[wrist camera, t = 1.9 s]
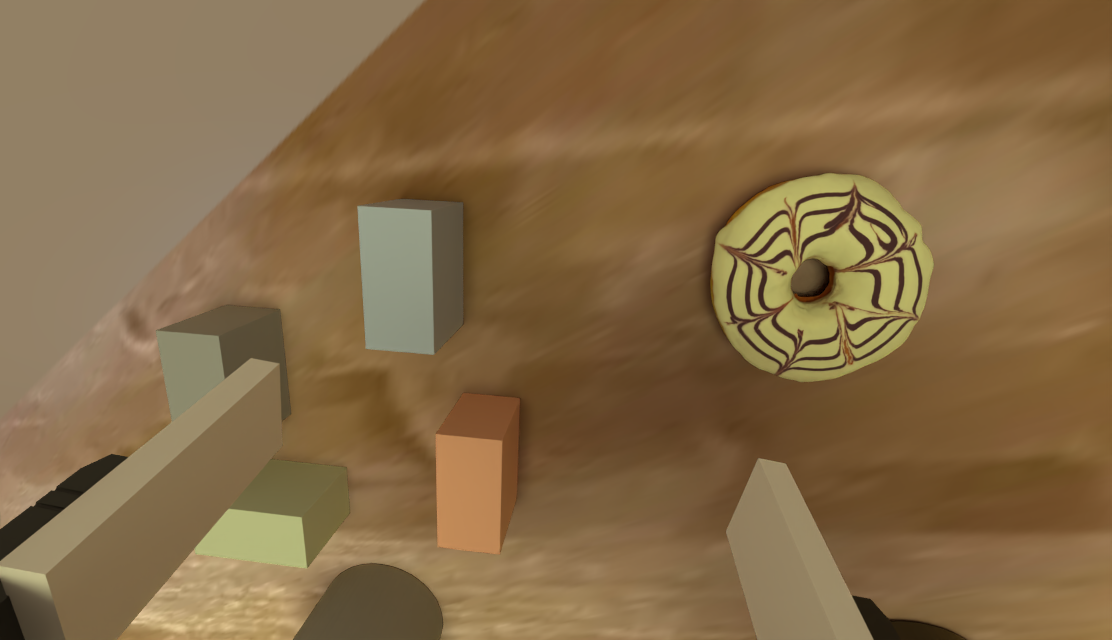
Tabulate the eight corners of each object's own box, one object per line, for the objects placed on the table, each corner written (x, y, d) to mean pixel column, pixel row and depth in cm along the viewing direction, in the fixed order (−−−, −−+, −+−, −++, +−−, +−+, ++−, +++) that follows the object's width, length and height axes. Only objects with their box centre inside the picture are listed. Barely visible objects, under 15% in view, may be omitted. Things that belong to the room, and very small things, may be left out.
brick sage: (347, 466, 40) (301, 517, 34) (350, 512, 41) (307, 568, 35) (247, 455, 41) (186, 503, 35) (253, 500, 42) (195, 554, 36)
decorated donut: (861, 136, 30) (898, 131, 26) (928, 315, 32) (972, 336, 28) (674, 229, 32) (682, 237, 28) (749, 389, 35) (766, 417, 31)
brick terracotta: (517, 497, 39) (499, 554, 33) (464, 491, 39) (437, 546, 34) (520, 397, 37) (502, 440, 31) (463, 392, 37) (435, 434, 31)
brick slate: (291, 413, 39) (235, 456, 33) (241, 408, 39) (176, 449, 34) (280, 309, 37) (218, 336, 31) (227, 304, 37) (155, 330, 31)
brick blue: (463, 323, 36) (434, 354, 30) (406, 319, 36) (365, 348, 30) (463, 202, 33) (431, 210, 28) (402, 198, 34) (357, 205, 28)
